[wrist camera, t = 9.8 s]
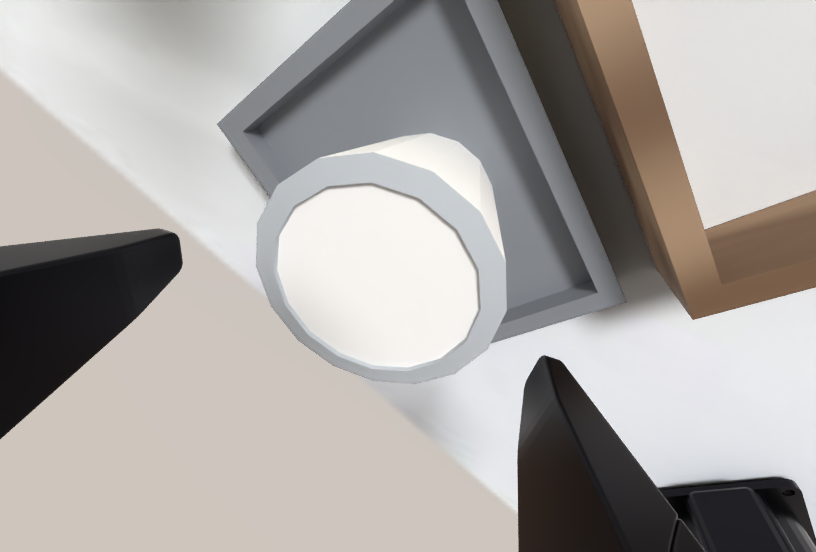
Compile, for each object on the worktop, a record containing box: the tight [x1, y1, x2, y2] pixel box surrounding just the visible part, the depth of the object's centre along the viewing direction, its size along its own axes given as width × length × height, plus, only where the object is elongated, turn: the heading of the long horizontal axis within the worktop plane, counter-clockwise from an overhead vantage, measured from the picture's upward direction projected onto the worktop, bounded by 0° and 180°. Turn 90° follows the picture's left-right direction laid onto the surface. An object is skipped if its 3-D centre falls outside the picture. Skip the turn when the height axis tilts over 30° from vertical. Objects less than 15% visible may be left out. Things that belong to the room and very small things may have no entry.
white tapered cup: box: [256, 133, 507, 384], centre depth 12 cm, size 7×7×7 cm
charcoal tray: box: [217, 0, 627, 343], centre depth 15 cm, size 14×11×2 cm
